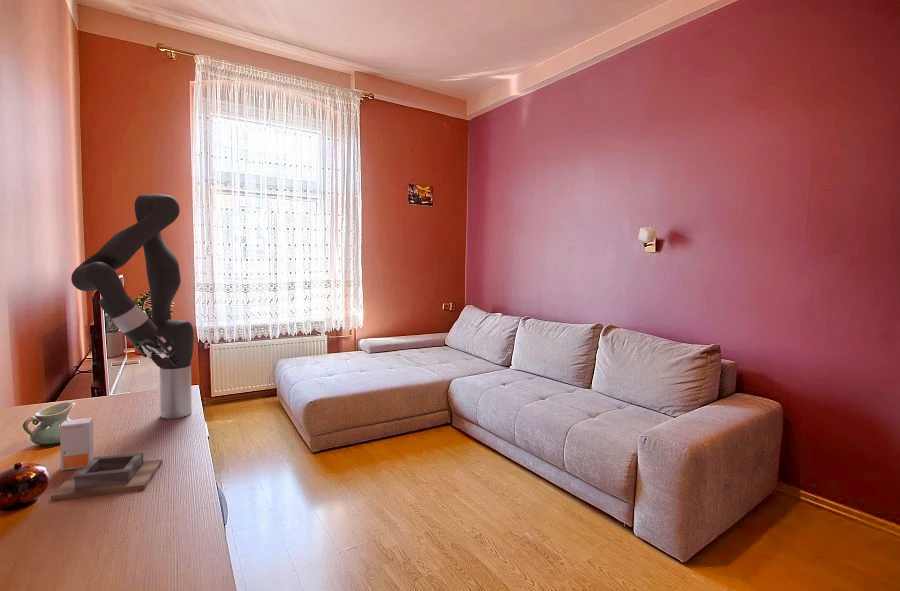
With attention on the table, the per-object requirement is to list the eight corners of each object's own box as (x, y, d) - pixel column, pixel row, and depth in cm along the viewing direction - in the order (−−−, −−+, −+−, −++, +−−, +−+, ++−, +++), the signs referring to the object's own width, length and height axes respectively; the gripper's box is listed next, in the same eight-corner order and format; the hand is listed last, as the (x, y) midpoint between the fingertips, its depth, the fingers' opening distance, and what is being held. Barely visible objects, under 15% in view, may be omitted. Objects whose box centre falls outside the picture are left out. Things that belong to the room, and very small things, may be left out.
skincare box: (60, 471, 112) (58, 425, 111) (65, 464, 116) (64, 420, 115) (90, 467, 115) (89, 422, 114) (94, 460, 118) (93, 417, 117)
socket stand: (80, 471, 112) (79, 455, 112) (161, 463, 118) (161, 448, 117) (50, 500, 99) (50, 482, 98) (144, 489, 105) (144, 472, 104)
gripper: (159, 313, 127) (193, 355, 135) (132, 317, 134) (166, 357, 142) (136, 330, 122) (174, 372, 129) (110, 333, 128) (147, 374, 136)
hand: (170, 364), depth 135 cm, fingers open, 8 cm apart
